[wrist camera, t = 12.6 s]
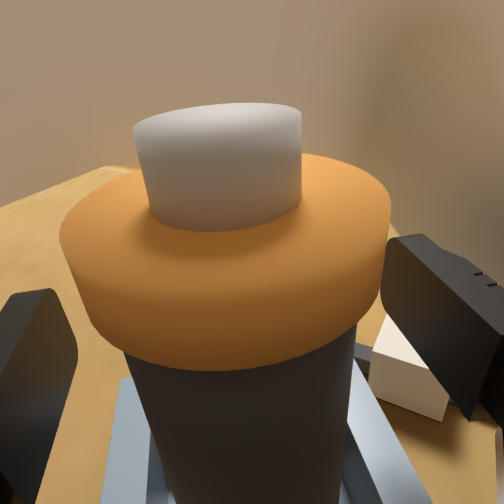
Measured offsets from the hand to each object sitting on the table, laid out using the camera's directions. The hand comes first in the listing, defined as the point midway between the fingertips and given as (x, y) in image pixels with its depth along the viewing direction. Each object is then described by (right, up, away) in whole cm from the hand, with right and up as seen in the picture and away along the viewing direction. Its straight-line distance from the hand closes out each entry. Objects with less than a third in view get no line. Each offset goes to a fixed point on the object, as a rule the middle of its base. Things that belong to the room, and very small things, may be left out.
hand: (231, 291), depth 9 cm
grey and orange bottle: (+1, -8, +3) cm, 8 cm away
